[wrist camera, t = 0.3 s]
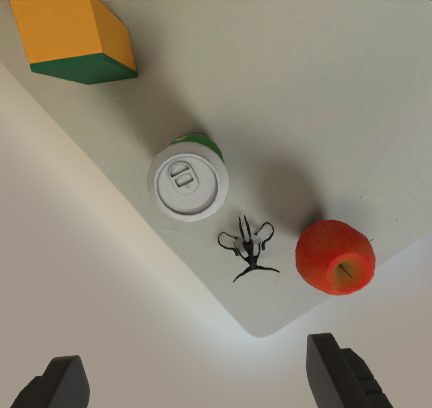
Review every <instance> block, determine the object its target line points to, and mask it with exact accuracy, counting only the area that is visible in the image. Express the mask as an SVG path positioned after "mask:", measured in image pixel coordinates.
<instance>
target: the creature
mask: <svg viewBox="0 0 432 408" xmlns="http://www.w3.org/2000/svg"><path fill="white" fill-rule="evenodd" d="M244 218H245V221H246V226H247V231H248V234H249V237H250V239H249V242H246V241H245V240H244V233H243V230H242V225H241V220H240V217H239V222H240V223H239V228H240V232H241V235H242V238H243V240H244V241H243V247H244V248H245V250H246V251H247V253H248V255H249V256H248V257H247V258H244V257H243V256H242V255H241V253H240V251H239V250H238V249H237V248H236V247H235V246H234V247H235V248H236V249H237V250H236V249H235V248H228V247H225V246H223V245H221V244H220V241H219V236H220V235H221V233H220V235H219V236H218V243H219V244H220V245H221V246H222V247H223V248H225V249H228V250H233V251H234V252H235V255H236V256H239V255H240V256H241V257H242V258H243V259H244V260H245V261H247V262H248V263H249V265H250V266H249V267H248V268H247V269H246V270H245V271H244V272H243V273H241V274H239V275H238V276H237V277H236V278H235V280H236V279H237V278H239V277H240V276H242V275H245V274H246V273H248V272H249V271H252V270H255V269H261V270H273V271H276V272H279V271H278V270H275V269H273V268H265V267H262V266H257V259H258V256H259V254H260V243H261V241H260V243H259V247H258V248H259V253H258V255H257V256H253V247H254V244H253V241H252V239H251V233H250V227H249V224H248V222H247V220H246V217H245V215H244ZM266 223H267V224H270V223H268V222H266ZM266 223H264V224H266ZM264 224H263V226H264ZM270 225H271V224H270ZM263 226H262V227H261V229H262V228H263ZM271 226H272V225H271ZM261 229H260V230H261ZM272 229H273V232H272V234H271V235H270V237H269V238H268V239H266V240H265V241H263V242H262V245H261V246H262V250H265V246H264V245H265V242H267V241H269V240H270V239H271V237H272V236H273V233H274V228H273V226H272ZM260 230H259V231H260ZM259 231H258V232H259ZM258 232H257V233H258ZM222 233H225V232H222ZM257 233H255V234H254V235H257ZM225 234H226V233H225ZM227 235H228V234H227ZM228 236H230V235H228ZM257 236H258V235H257ZM230 237H232V236H230ZM233 238H235V237H233ZM235 239H236V240H237V239H238V238H235ZM234 245H235V243H234ZM237 251H238V252H237ZM238 253H239V255H238ZM279 273H280V272H279ZM235 280H234V281H235ZM234 281H233V283H234Z"/></svg>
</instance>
